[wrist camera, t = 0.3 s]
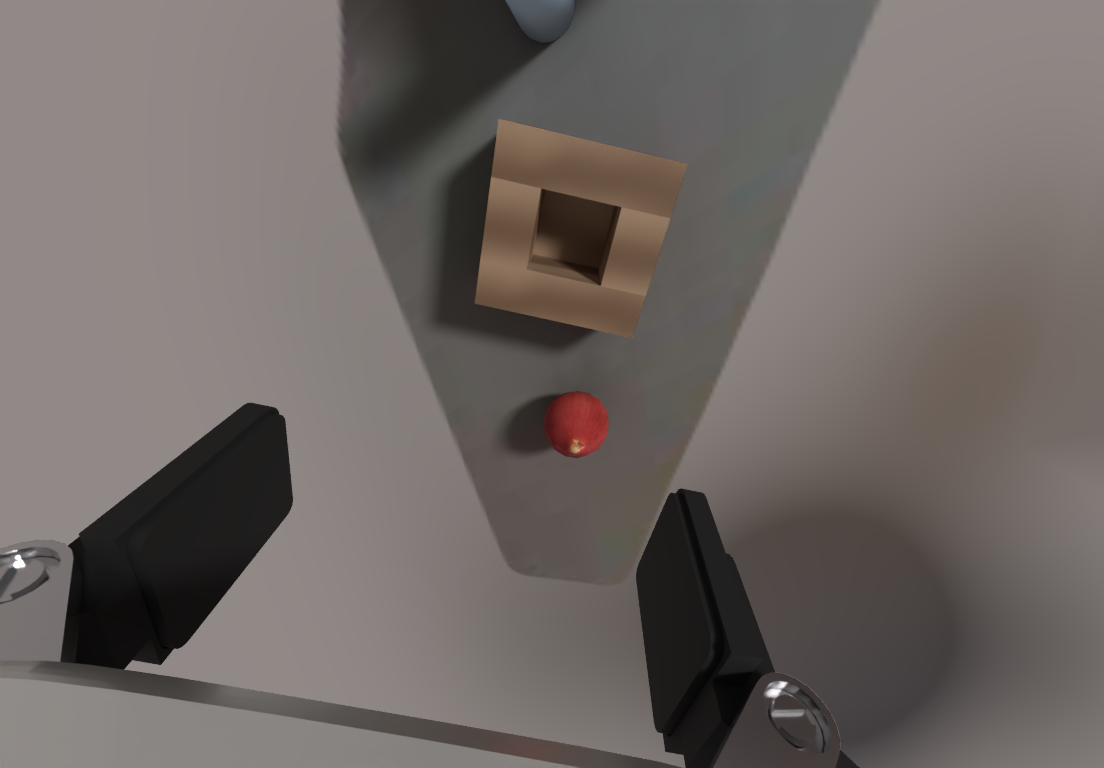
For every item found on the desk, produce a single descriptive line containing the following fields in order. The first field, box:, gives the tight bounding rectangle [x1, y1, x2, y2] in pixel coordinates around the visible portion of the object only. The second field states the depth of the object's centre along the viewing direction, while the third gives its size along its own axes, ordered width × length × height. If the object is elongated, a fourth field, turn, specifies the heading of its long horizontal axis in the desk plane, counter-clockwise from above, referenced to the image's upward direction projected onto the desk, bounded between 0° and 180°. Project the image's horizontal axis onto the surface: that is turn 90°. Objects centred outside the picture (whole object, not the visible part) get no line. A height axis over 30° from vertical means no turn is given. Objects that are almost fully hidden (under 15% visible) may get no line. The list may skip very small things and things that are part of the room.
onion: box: [544, 391, 609, 458], centre depth 40 cm, size 6×6×8 cm
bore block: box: [475, 119, 688, 338], centre depth 33 cm, size 12×12×6 cm
